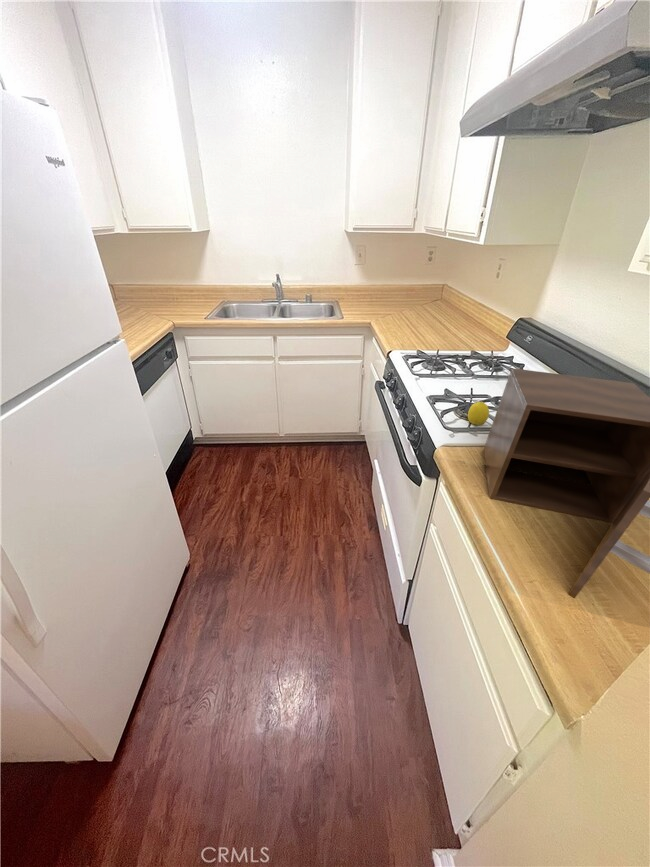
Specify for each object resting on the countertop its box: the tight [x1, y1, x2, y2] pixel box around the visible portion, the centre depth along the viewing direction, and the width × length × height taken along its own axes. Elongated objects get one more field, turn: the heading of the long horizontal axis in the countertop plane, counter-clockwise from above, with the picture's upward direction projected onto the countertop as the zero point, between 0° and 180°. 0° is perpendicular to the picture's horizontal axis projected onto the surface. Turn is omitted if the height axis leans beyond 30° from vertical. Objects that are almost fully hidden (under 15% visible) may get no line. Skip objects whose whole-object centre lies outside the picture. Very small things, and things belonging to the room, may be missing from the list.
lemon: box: [467, 401, 490, 426], centre depth 101 cm, size 6×6×8 cm
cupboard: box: [483, 368, 650, 524], centre depth 75 cm, size 18×24×24 cm
